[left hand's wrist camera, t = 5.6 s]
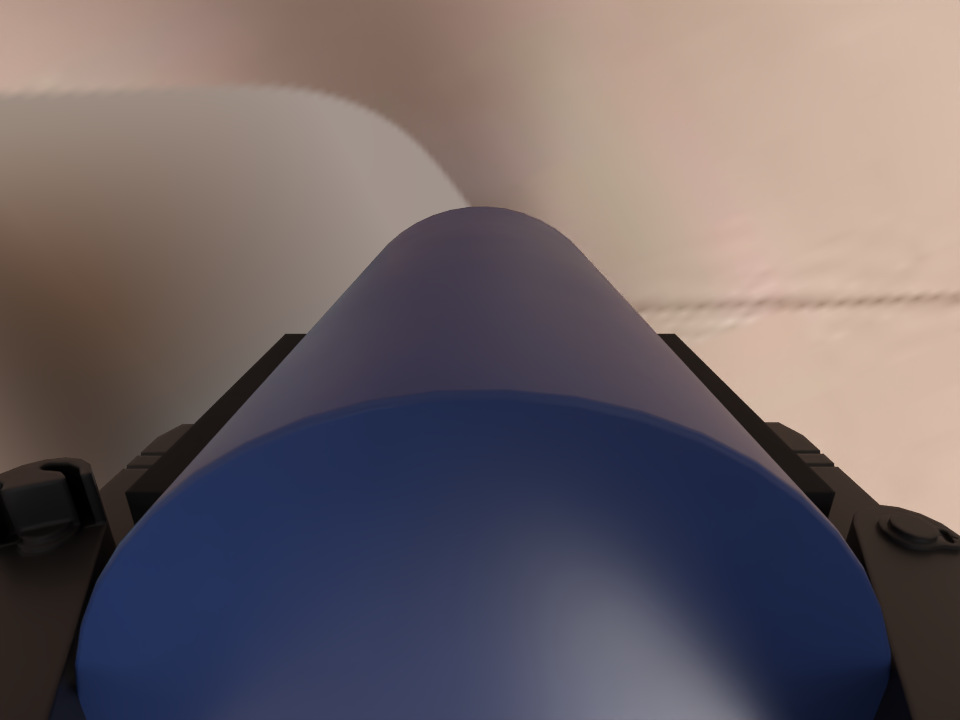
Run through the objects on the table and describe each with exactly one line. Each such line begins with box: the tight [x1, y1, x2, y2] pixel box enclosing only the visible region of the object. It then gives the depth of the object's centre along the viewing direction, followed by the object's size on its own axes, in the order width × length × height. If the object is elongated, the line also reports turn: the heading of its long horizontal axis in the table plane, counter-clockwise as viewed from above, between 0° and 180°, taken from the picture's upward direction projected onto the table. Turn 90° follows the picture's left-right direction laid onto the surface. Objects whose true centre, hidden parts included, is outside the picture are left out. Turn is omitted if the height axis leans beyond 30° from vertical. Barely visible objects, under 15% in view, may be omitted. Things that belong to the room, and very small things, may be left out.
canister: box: [75, 207, 891, 720], centre depth 11 cm, size 8×8×12 cm
